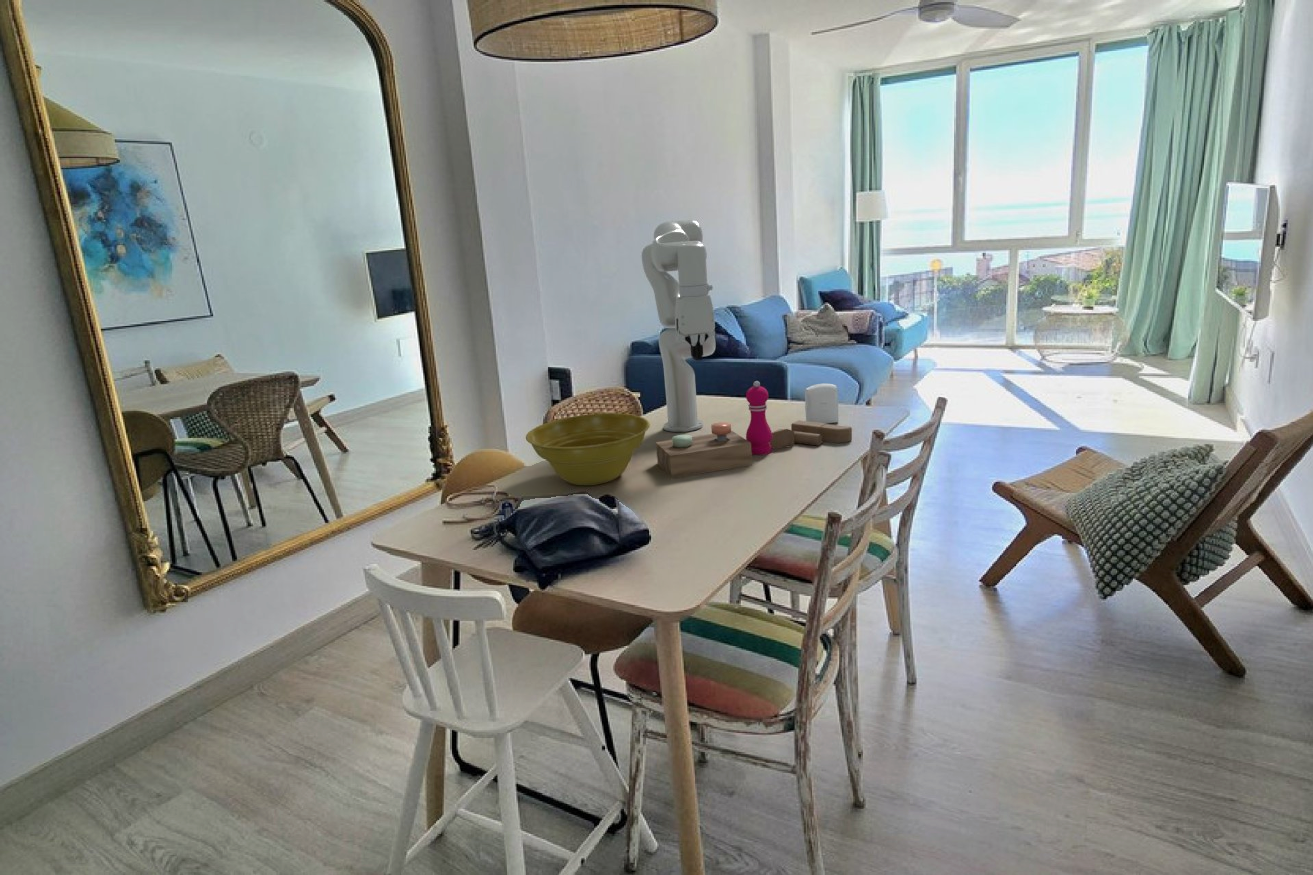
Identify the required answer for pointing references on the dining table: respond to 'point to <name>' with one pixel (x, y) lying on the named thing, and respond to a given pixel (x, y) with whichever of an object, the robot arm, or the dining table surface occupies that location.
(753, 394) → the pepper mill
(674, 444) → the green button
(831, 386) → the photo printer
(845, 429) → the wooden block set
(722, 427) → the red button
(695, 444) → the button panel
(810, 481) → the dining table surface
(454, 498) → the dining table surface
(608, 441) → the planter bowl
